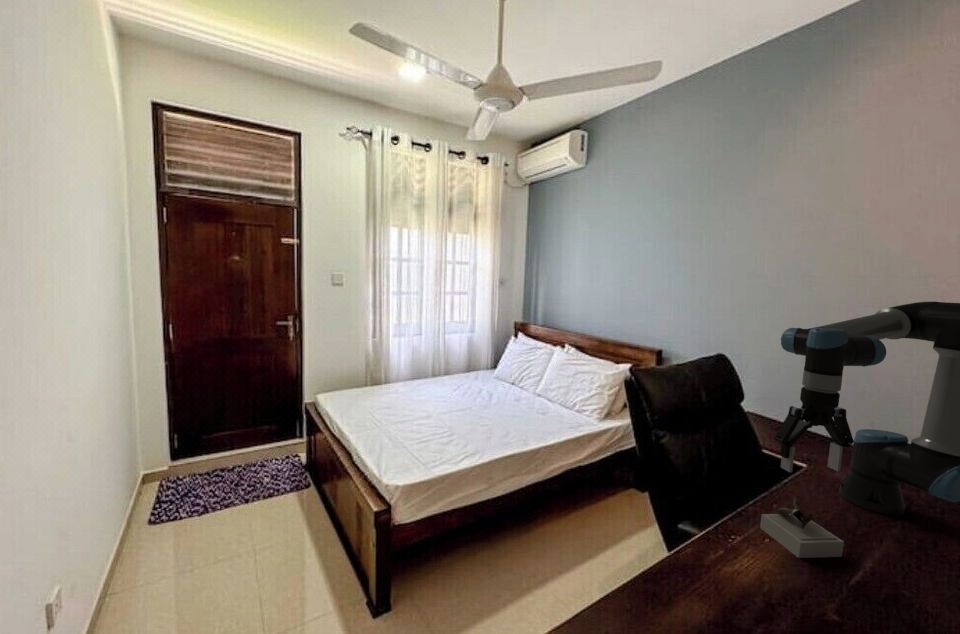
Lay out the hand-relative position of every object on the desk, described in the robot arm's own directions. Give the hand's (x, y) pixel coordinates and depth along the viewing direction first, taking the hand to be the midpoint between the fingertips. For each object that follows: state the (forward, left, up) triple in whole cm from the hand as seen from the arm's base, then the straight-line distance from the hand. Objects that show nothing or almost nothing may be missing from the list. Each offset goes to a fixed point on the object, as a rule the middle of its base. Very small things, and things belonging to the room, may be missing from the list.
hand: (810, 469), depth 105 cm
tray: (0, 0, -20) cm, 20 cm away
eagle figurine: (0, -3, -16) cm, 16 cm away
